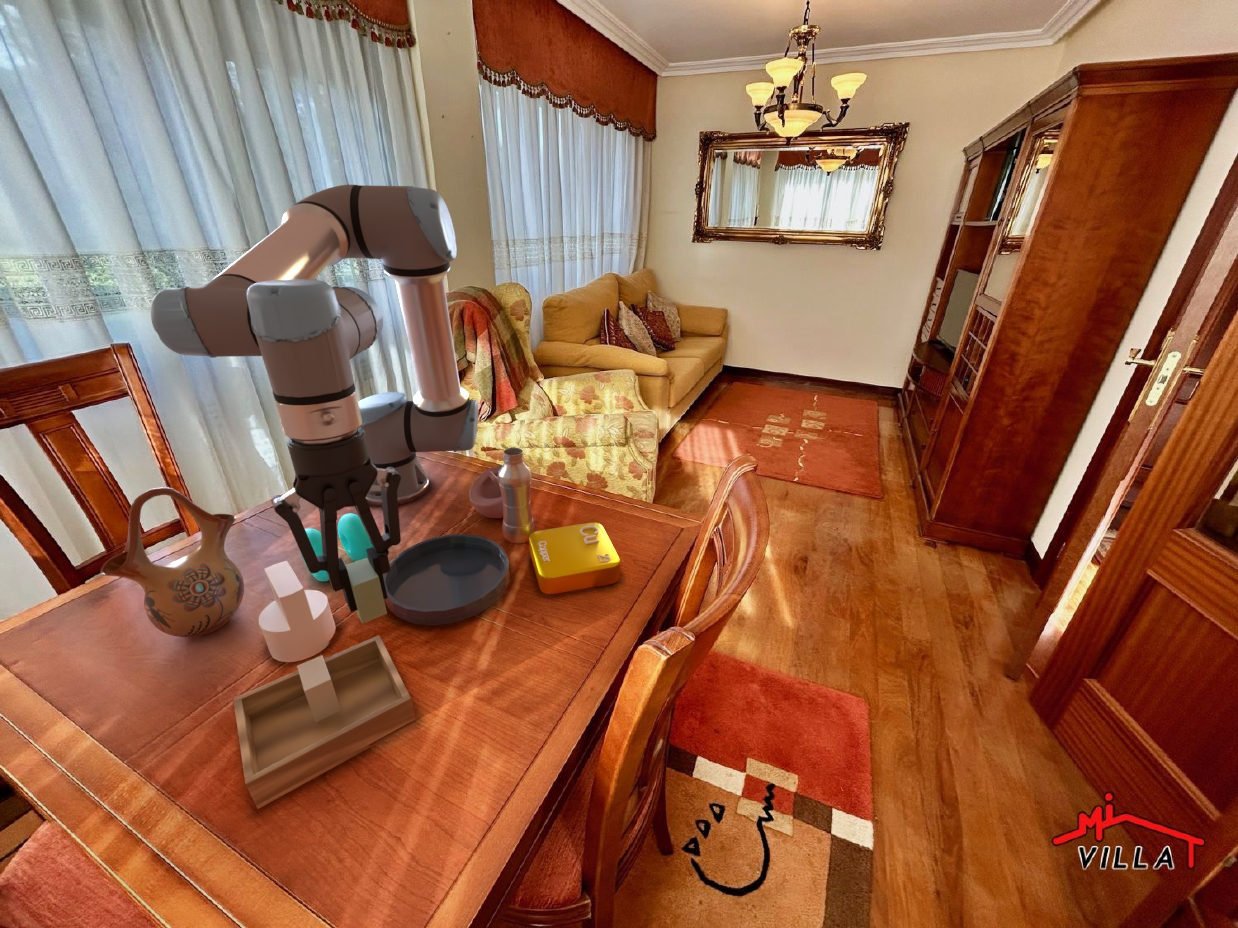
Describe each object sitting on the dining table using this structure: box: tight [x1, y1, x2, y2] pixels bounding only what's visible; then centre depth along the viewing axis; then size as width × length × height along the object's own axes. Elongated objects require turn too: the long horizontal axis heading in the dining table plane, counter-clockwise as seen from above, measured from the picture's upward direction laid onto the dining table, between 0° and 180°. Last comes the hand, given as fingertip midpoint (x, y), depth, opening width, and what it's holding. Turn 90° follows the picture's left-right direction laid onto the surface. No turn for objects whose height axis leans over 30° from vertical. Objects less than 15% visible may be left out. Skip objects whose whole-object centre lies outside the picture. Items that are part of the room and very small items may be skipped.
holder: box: [232, 634, 417, 810], centre depth 65 cm, size 14×18×5 cm
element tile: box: [528, 522, 621, 595], centre depth 95 cm, size 15×15×5 cm
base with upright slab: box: [257, 560, 337, 663], centre depth 75 cm, size 9×9×12 cm
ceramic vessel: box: [100, 487, 245, 638], centre depth 74 cm, size 16×9×25 cm, turn 153°
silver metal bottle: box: [497, 447, 536, 545], centre depth 99 cm, size 6×7×20 cm
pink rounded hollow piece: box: [468, 464, 503, 519], centre depth 109 cm, size 12×12×11 cm
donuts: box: [299, 512, 373, 582], centre depth 91 cm, size 10×10×10 cm
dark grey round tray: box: [383, 533, 511, 626], centre depth 90 cm, size 21×22×4 cm
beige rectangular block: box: [296, 654, 341, 723], centre depth 66 cm, size 5×3×6 cm, turn 39°
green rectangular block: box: [345, 558, 388, 625], centre depth 64 cm, size 5×3×6 cm, turn 40°
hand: (366, 599), depth 65 cm, fingers closed on green rectangular block, 3 cm apart
